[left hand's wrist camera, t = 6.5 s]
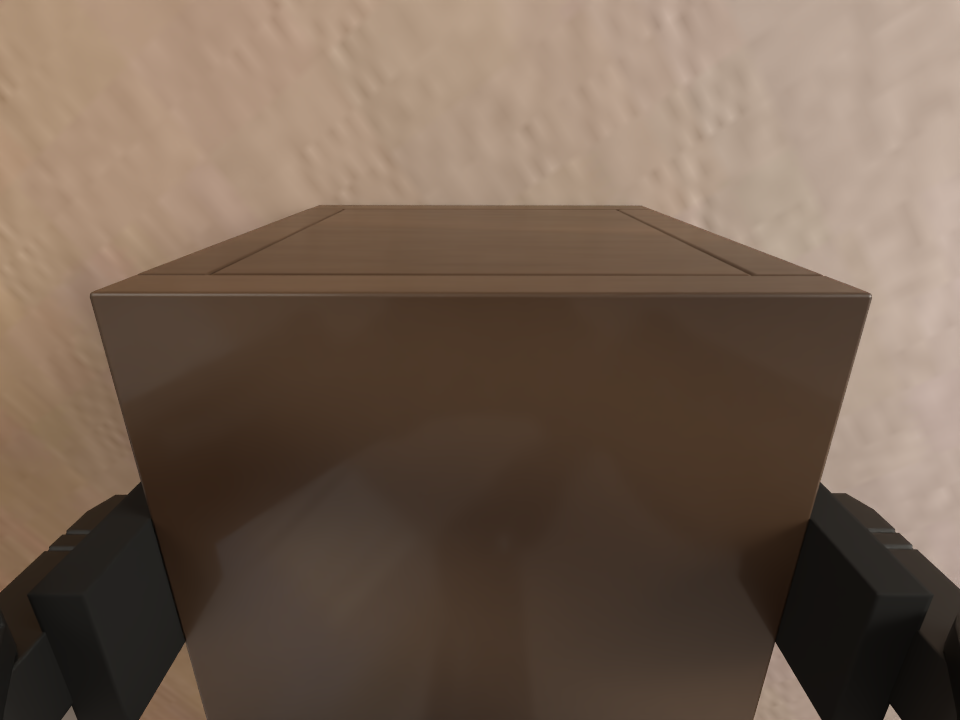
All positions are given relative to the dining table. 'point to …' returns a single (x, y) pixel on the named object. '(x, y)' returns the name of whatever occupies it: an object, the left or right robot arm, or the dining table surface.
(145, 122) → the dining table surface
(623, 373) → the cabinet
